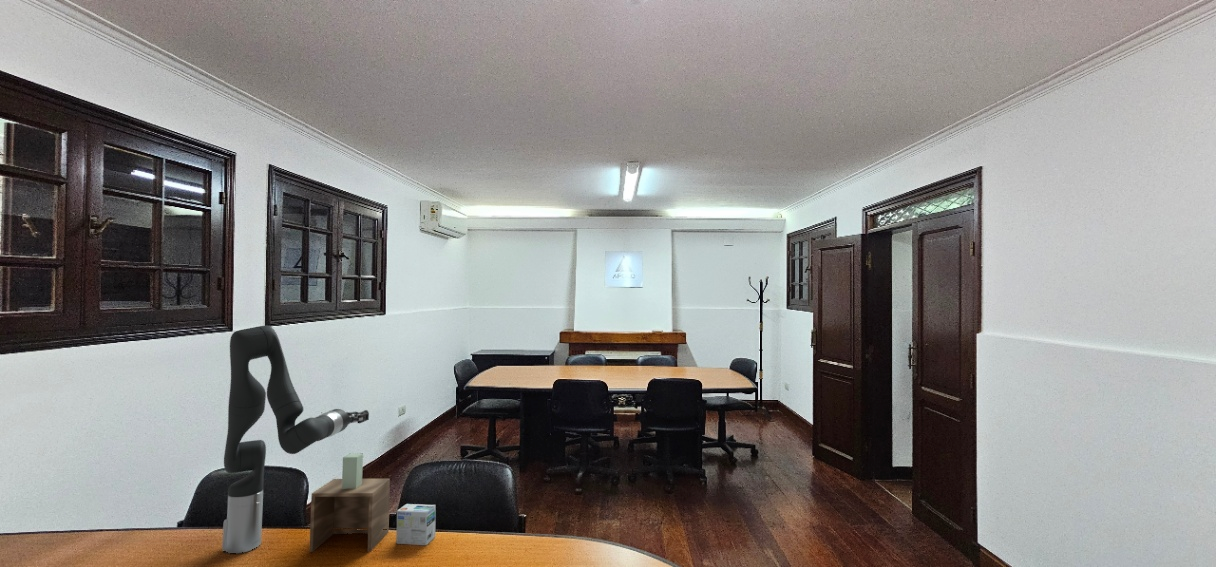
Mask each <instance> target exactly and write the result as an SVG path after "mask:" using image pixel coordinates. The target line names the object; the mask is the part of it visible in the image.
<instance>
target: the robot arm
mask: <svg viewBox="0 0 1216 567" xmlns="http://www.w3.org/2000/svg"><path fill="white" fill-rule="evenodd" d="M265 357H267V358H268V360H269V363H270V375H269V380H268V384H267V388H266V389H265V388H264V386H263V385H262V383H261V382H260V381H258V380H257V378H256V377H254V376H253V374H252V373H251V371H250V369H249V365H250V364H249V362H250V361H252V360H256V359H259V358H265ZM229 359H230V384H229V386H230V387H229V397H228V407H227V410H228V413H227V415H228V416H227V418H228V419H227V435H226V440H225V441H226V442H225V449H224V454H223V455H224V456H223V467H224V470H225V472H226V473H228V474H235V473H243V472H249V471H251V472H250V473H249V474H248V475H246V476H245V477H243V478H241V479H239V480H237V481H235V482H233V483H232V484H230V485H229V486H228V490H227V493H228V494H227V511H226V514H227V515H226V519H224V521H223V525H222V526H223V528H222V548H221V551H222V550H224V551H226V552H225V553H227V552H228V553H227V554H230V553H236V554H243V553H246V552H250V551H252V549H253V550H255V549H257V548H259V547H260V546H261V545H262V530H263V526H262V525H263V508H264V506H263V503H264V500H263V499H264V480H265V479H264V475H265V464H266V463H265V462H266V454H267V446H266V443H265V441H264V440H263V439H257V440H249V441H241V440H242V439H243V437H244V436H245V435H246V433H247V432H248V431H249V430H250V429H251V428H252V427H253V426H254V425H255V424H256V423H257V422H258V421H259V420H260V418H261V417H262V416H263V414H264V413H265V407H266V398H267V403H269V406H270V408H271V411H272V412H273V415H274V417H275V419H276V420H275V421H276V428H277V430H276V431H277V437H278V438H277V439H278V443H279V446H280V448H281V449H282V450H283V451H284V453H287V454H289V455H295V454H297V453H300V452H302V451H303V450H304V449H307V448H308V447H309V446H311V445H313V444H314V443H316V442H320V441H322V440H324V439H326V438H331V437H332V436H335V435H337V434H339V433H340V432H342V431H344V430H346V429H347V427H348V426H349V425H350V424H354V423H357V424H361V423H364V422H366V421H367V422H368V420H369V418H370V412H369V411H368V410H367V409H364V410H363V411H360V412H359V411H349V412H348V411H345V410H344V409H341V408H335V409H331V410H329V411H326V412H324V413H321V414H319V415H318V416H315V417H308V418H305V419H303V420H301V421H299V423H297V424H296V420H297V419H298V418H299V417H300V415H302V414H303V412H304V406H303V403H302V402H301V399H300V398H299V395H298V393H297V392H296V389H295V387H294V385H293V382H292V379H291V377H290V373H289V369H288V366H287V361H286V358H285V355H284V351H283V349H282V345H281V342H280V339H279V336H278V334H277V332H276V330H275V329H274V328H273V327H272V326H270V325H259V326H255V327H254V326H253V327H248V328H243V329H238V330H236V331H234V332H233V333H232V334H231V336H230V340H229ZM259 545H260V546H259ZM256 547H257V548H256ZM254 548H255V549H254ZM242 552H243V553H242Z"/></svg>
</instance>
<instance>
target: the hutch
mask: <svg viewBox="0 0 1216 567" xmlns="http://www.w3.org/2000/svg"><path fill="white" fill-rule="evenodd" d="M390 488H391V478H362V484H361V485H360V486H359V487H357V488H356V489H342V478H332V479H331V480H330V481H328V482H327V483H325V484H324V485H322V486H321V487H319V488H318V489H316V490H315V491H313V492H312V493H311V501H310V502H311V503H310V525H309V527H310V528H309V551H308V552H309V553H313V552H315V550H317V549H318V548H319V547H320V546H321V545H323V543H324V542H326V541H328V540H329V538H330V537H332V536H333V535H339V534H340V535H343V534H345V535H346V534H347V533H348V534H347V535H353V534H352V533H363V534H364V533H365V534H366V535H367V552H372V551H373V550H374V549H375V547H377V545H378V544H380V542H381V541H382V540H383V539H384V538H385V537H386V535H387V534H388V533H389V528H390V526H389V522H390V521H389V520H390V495H391V494H390V491H391V490H390ZM333 528H355V529H333ZM357 529H368V530H357ZM383 529H387V530H383ZM363 534H362V535H363ZM365 534H364V535H365ZM373 548H374V549H373ZM372 549H373V550H372Z"/></svg>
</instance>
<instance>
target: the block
mask: <svg viewBox="0 0 1216 567" xmlns="http://www.w3.org/2000/svg"><path fill="white" fill-rule="evenodd" d="M363 460H364V453H358V452H357V453H354V452H353V453H348V454H346V455H344V456H343V457H342V469H341V470H342V472H341V473H342V474H341V475H342V476H341V477H342V478H341V479H342V489H356V488H357V487H359V486H360V485H361V484H362V479H363V469H364V468H363V464H364V461H363Z"/></svg>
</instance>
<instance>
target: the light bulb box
mask: <svg viewBox="0 0 1216 567" xmlns="http://www.w3.org/2000/svg"><path fill="white" fill-rule="evenodd" d="M436 508H437V507H436V504H421V503H420V504H419V503H417V504H416V503H414V504H413V503H406V504H404V505H403V506H401V507H400V508H399V509H397V511H396V535H395V536H396V538H395V539H396V541H395V542H396V543H395V544H396V545H411V546H412V545H414V546H417V545H418V546H428V544H429V543H431V542H432V541H433V540H434V539H435V538H436V515H437V514H436Z"/></svg>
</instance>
